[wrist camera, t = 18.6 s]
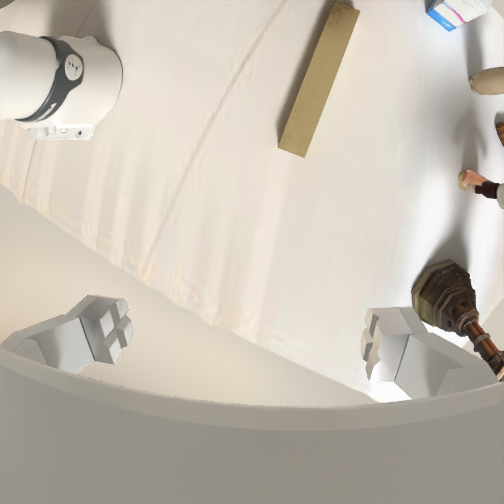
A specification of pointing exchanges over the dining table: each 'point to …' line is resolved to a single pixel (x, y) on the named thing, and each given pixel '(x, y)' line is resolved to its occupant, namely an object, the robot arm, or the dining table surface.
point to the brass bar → (318, 79)
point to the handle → (488, 81)
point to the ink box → (457, 11)
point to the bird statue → (454, 309)
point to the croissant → (500, 131)
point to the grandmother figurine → (482, 186)
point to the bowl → (5, 3)
